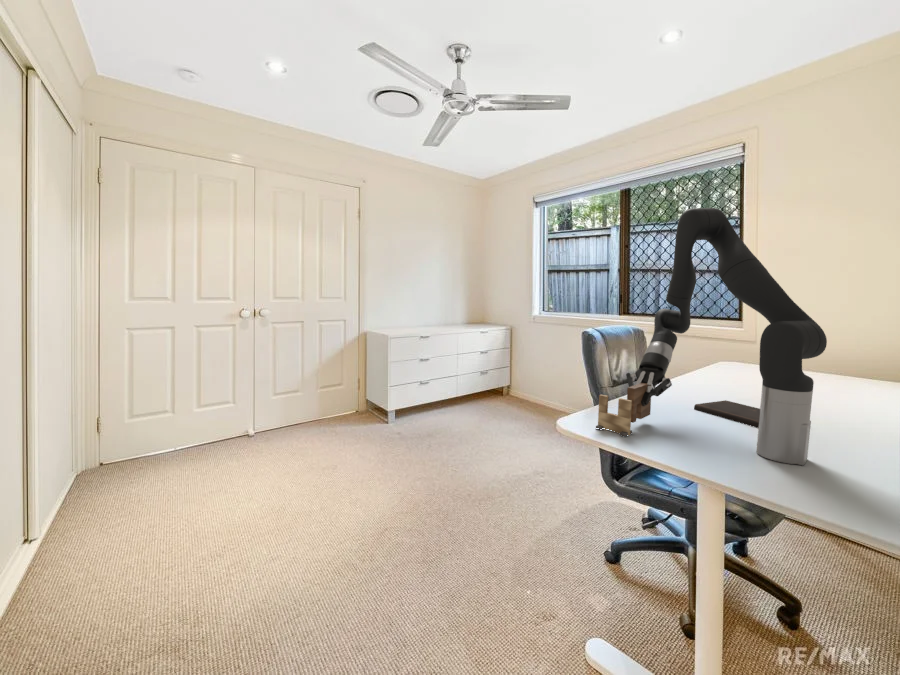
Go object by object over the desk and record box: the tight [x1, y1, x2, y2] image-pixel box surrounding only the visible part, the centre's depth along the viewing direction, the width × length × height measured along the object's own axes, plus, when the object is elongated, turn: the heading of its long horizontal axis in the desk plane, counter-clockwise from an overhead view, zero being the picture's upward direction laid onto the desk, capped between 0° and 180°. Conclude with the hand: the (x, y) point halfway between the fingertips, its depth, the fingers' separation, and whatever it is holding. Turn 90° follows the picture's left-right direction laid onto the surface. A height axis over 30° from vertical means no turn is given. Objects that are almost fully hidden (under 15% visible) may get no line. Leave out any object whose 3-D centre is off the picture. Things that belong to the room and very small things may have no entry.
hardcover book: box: [693, 399, 760, 429], centre depth 128 cm, size 16×23×2 cm
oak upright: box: [595, 394, 633, 437], centre depth 113 cm, size 9×4×10 cm, turn 42°
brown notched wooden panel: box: [626, 383, 652, 424], centre depth 117 cm, size 2×12×10 cm, turn 132°
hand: (638, 403), depth 117 cm, fingers closed on brown notched wooden panel, 2 cm apart
